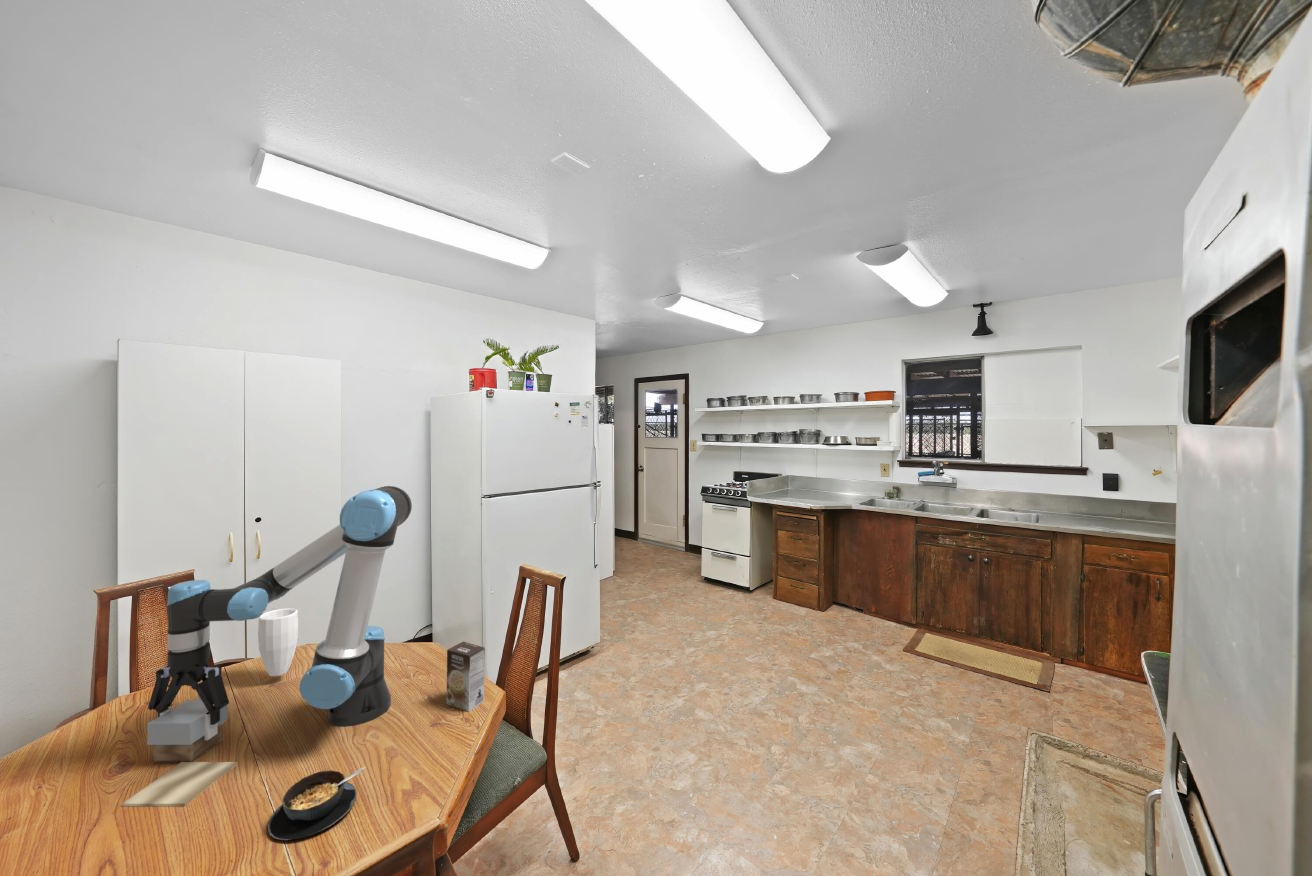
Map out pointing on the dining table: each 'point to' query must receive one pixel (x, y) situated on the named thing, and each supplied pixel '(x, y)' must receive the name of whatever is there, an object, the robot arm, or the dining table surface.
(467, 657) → the coffee box
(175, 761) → the walnut dish
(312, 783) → the soup bowl
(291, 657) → the cup
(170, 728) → the grey cover
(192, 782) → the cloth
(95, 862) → the dining table surface
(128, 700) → the dining table surface
